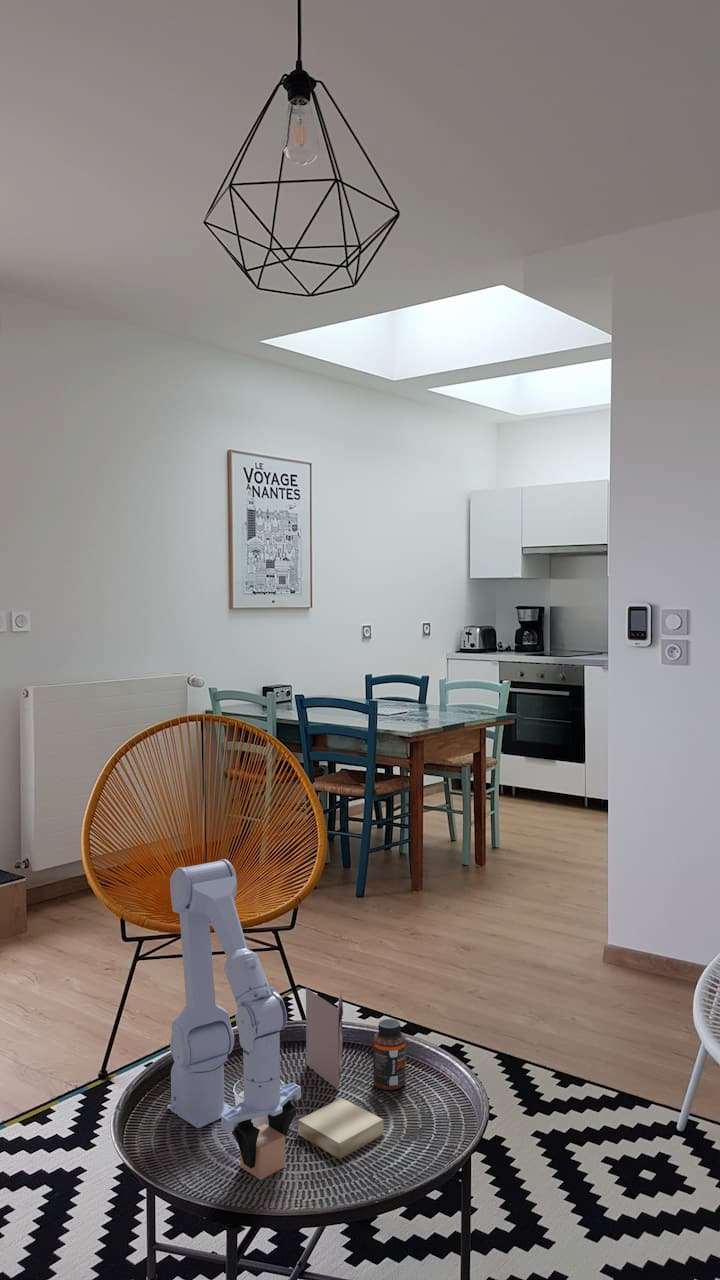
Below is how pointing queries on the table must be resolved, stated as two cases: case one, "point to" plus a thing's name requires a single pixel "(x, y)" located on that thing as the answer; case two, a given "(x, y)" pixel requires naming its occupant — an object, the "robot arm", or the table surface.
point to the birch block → (340, 1127)
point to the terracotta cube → (267, 1153)
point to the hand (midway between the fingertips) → (262, 1157)
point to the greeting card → (324, 1037)
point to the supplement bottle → (389, 1056)
